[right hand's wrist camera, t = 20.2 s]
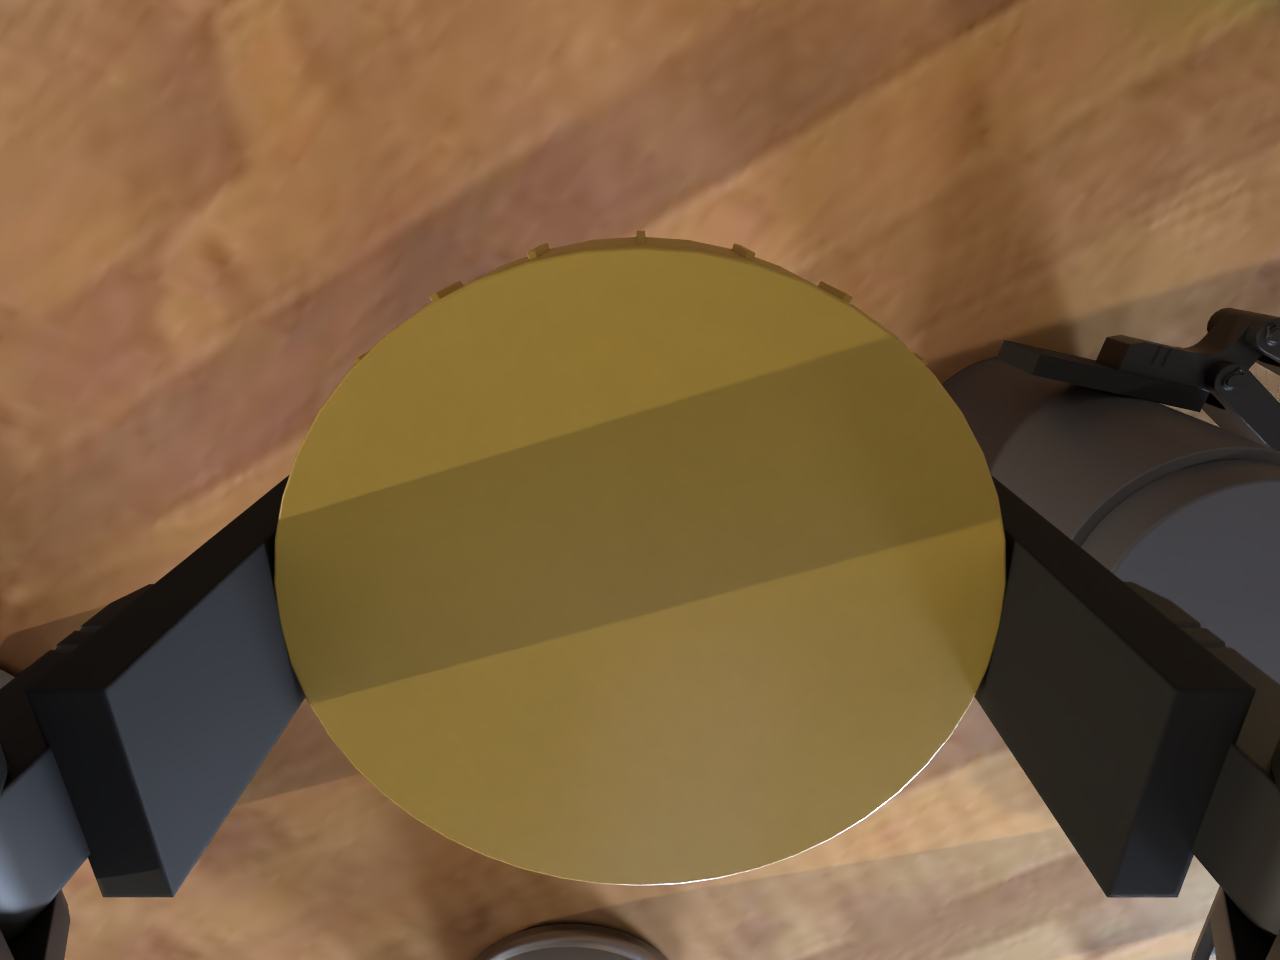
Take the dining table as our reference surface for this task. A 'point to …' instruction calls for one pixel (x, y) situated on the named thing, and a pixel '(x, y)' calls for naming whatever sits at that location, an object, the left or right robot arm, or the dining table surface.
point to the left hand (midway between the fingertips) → (968, 478)
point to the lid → (640, 563)
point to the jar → (1142, 494)
